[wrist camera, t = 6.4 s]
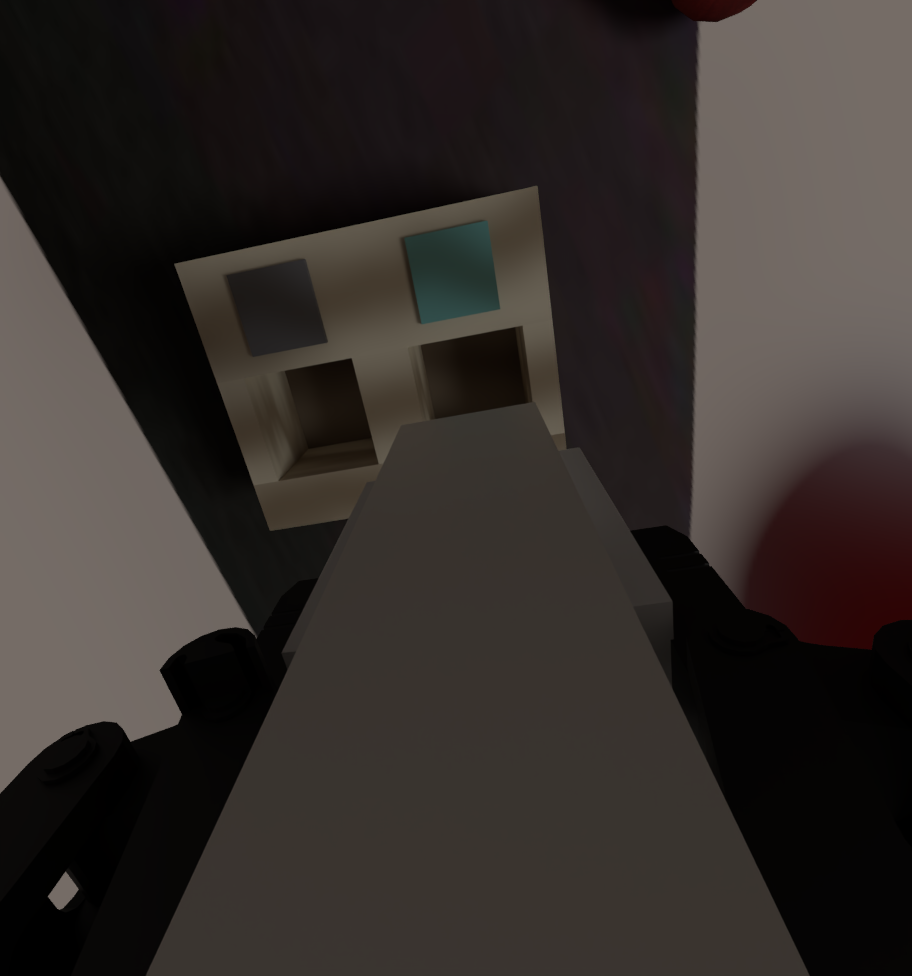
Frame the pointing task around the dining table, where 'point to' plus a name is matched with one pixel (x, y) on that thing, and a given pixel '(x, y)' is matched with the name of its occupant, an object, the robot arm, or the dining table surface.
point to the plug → (476, 756)
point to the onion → (711, 8)
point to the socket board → (374, 342)
